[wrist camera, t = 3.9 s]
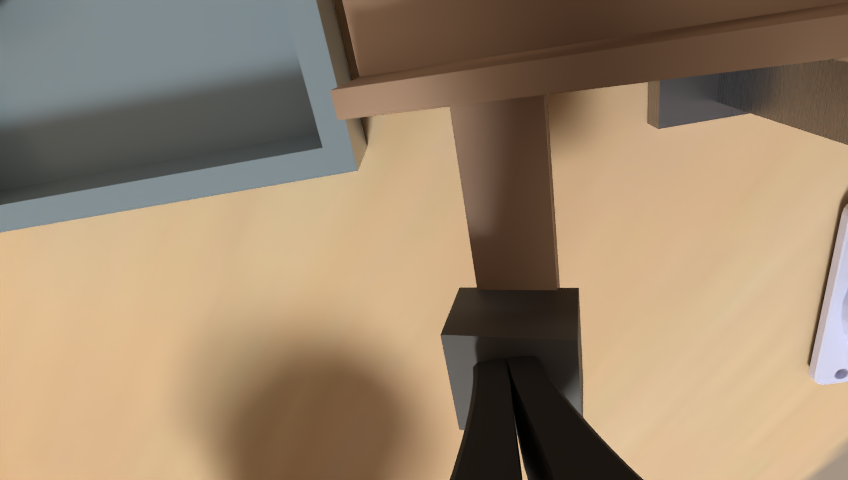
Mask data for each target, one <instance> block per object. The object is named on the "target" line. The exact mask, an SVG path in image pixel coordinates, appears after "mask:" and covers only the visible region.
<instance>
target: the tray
mask: <svg viewBox="0 0 848 480" xmlns="http://www.w3.org/2000/svg"><path fill="white" fill-rule="evenodd" d="M350 81H352V79H351V75H350V71H349V66H348V62H347V58H346V53H345V49H344V45H343V41H342V36H341V32H340V28H339V23H338V19H337V15H336V10H335V6H334V2H333V0H0V232H5V231H11V230H17V229H23V228H29V227H34V226H40V225H46V224H52V223H57V222H63V221H69V220H75V219H81V218H86V217H92V216H98V215H104V214H110V213H115V212H121V211H127V210H133V209H139V208H144V207H150V206H156V205H162V204H167V203H173V202H179V201H185V200H191V199H196V198H202V197H208V196H214V195H220V194H225V193H231V192H237V191H243V190H249V189H254V188H260V187H266V186H272V185H277V184H283V183H289V182H295V181H301V180H306V179H312V178H318V177H324V176H330V175H335V174H341V173H347V172H353V171H358V169H359V167H360V164H361V162H362V159H363V157H364V154H365V152H366V149H367V144H366V140H365V136H364V131H363V127H362V123H361V118H352V119H344V120H337V116H336V112H335V108H334V104H333V100H332V96H331V92H330V90H332V89H334V88H336V87H339V86H341V85H343V84H345V83H347V82H350Z"/></svg>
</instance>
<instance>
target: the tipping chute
mask: <svg viewBox="0 0 848 480" xmlns="http://www.w3.org/2000/svg"><path fill="white" fill-rule="evenodd" d="M342 1H343V6H344V10H345V15H346V19H347V24H348V28H349V33H350V37H351V42H352V46H353V51H354V55H355V59H356V64H357V68H358V73H359V78H356V79H354V80H352V81H350V82H347V83H345V84H343V85H341V86H339V87H336V88H334V89H332V90H330V92H331V96H332V100H333V104H334V108H335V112H336V116H337V120H344V119H352V118H360V117H368V116H376V115H384V114H392V113H400V112H408V111H417V110H425V109H433V108H441V107H449V106H450V112H451V119H452V125H453V132H454V138H455V145H456V152H457V158H458V165H459V171H460V178H461V185H462V191H463V198H464V204H465V211H466V218H467V224H468V231H469V237H470V244H471V251H472V257H473V264H474V270H475V277H476V284H477V288H459V290H458V293H457V295H456V298H455V300H454V303H453V305H452V308H451V310H450V313H449V315H448V318H447V320H446V323H445V325H444V328H443V330H442V333H441V339H442V344H443V349H444V354H445V359H446V364H447V369H448V374H449V379H450V384H451V390H452V395H453V400H454V405H455V410H456V415H457V420H458V425H459V429H461V430H465V426H466V421H467V417H468V412H469V407H470V401H471V395H472V387H473V366H474V365H475V364H476V363H477V362H484V361H491V360H498V359H504V362H505V366H506V369H507V373H508V376H509V371H508V363H507V358H512V357H519V356H535V357H537V358H538V359H540V361H541V363H542V364H543V366H544V367H545V369H546V371H547V372H548V373H549V375H550V376H551V378H552V379H553V381H554V382H555V383H556V385H557V386H558V387H559V389H560V390H561V391H562V393H563V394H564V395H565V396H566V398H567V399H568V400H569V401H570V403H571V404H572V405H573V406H574V408H575V409H576V410H577V411H578V412H579V413H580V415H581V416H582V417H583V370H582V349H581V327H580V306H579V288H560V284H559V269H558V254H557V239H556V224H555V209H554V194H553V179H552V164H551V149H550V133H549V118H548V103H547V94H554V93H562V92H571V91H579V90H587V89H595V88H603V87H611V86H619V85H627V84H635V83H643V82H652V81H660V80H668V79H676V78H684V77H692V76H700V75H708V74H716V73H724V72H733V71H741V70H749V69H757V68H765V67H773V66H781V65H789V64H797V63H806V62H814V61H822V60H830V59H838V58H846V57H848V0H342ZM509 380H510V379H509ZM510 387H511V386H510ZM511 395H512V394H511ZM512 403H513V402H512ZM514 418H515V417H514ZM515 426H516V424H515ZM516 433H517V429H516ZM517 435H518V434H517Z"/></svg>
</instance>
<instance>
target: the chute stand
mask: <svg viewBox="0 0 848 480" xmlns="http://www.w3.org/2000/svg"><path fill="white" fill-rule="evenodd" d="M748 113H751V114H755V115H758V116H761V117H764V118H767V119H770V120H773V121H776V122H779V123H782V124H785V125H788V126H791V127H794V128H798V129H801V130H804V131H807V132H810V133H813V134H816V135H819V136H822V137H825V138H828V139H831V140H834V141H838V142H841V143H844V144H847V145H848V57H846V58H838V59H830V60H822V61H814V62H806V63H797V64H789V65H781V66H773V67H765V68H757V69H749V70H741V71H733V72H724V73H716V74H708V75H700V76H692V77H684V78H676V79H668V80H660V81H652V82H648V124H650V125H652V126H654V127H656V128H658V129H661V128H667V127H672V126H678V125H684V124H690V123H696V122H702V121H708V120H713V119H719V118H725V117H731V116H737V115H743V114H748Z"/></svg>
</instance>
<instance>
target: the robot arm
mask: <svg viewBox="0 0 848 480" xmlns="http://www.w3.org/2000/svg"><path fill="white" fill-rule="evenodd" d="M507 363H508V371H509V376H508V373H507V369H506V366H505V362H504V359H498V360H491V361H484V362H477V363H476V364H475V365H474V366H473V387H472V395H471V401H470V407H469V412H468V417H467V421H466V426H465V430H464V434H463V438H462V442H461V445H460V449H459V452H458V455H457V459H456V462H455V465H454V469H453V472H452V475H451V478H450V480H522V472H521V464H520V456H519V449H518V441H517V434H518V439H519V444H520V449H521V454H522V458H523V463H524V468H525V471H526V474H527V478H528V480H643V479H642V478H641V477H640V476H639V475H638V474H637V473H636V472H634V471H633V470H632V469H631V468H630V467H629V466H628V465H627V464H626V463H625V462H624V461H623V460H622V459H621V458H620V457H619V456H618V455H617V454H616V453H615V452H614V451H613V450H612V449H611V448H610V447H609V446H608V445H607V443H606V442H605V441H604V440H603V439H602V438H601V437H600V436H599V435H598V434H597V433H596V432H595V431H594V430H593V428H592V427H591V426H590V425H589V424H588V423H587V422H586V420H585V419H584V418H583V417H582V416H581V415H580V413H579V412H578V411H577V410H576V409H575V408H574V406H573V405H572V404H571V403H570V401H569V400H568V399H567V398H566V396H565V395H564V394H563V393H562V391H561V390H560V389H559V387H558V386H557V385H556V383H555V382H554V381H553V379H552V378H551V376H550V375H549V373H548V372H547V371H546V369H545V367H544V366H543V364H542V363H541V361H540V359H538V358H537V357H535V356H519V357H512V358H507ZM809 376H810V377H811V378H812V379H813V380H814V381H815V382H816V383H818V384H833V383H841V382H848V204H847V205H846V206H845V207H844V210H843V212H842V215H841V220H840V225H839V230H838V235H837V239H836V244H835V249H834V254H833V258H832V263H831V268H830V273H829V278H828V282H827V287H826V292H825V297H824V301H823V306H822V311H821V316H820V321H819V325H818V330H817V335H816V340H815V345H814V349H813V354H812V359H811V364H810V368H809ZM509 379H510V380H509ZM510 386H511V387H510ZM511 394H512V395H511ZM512 402H513V403H512ZM514 417H515V418H514ZM515 424H516V426H515ZM516 429H517V433H516Z"/></svg>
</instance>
